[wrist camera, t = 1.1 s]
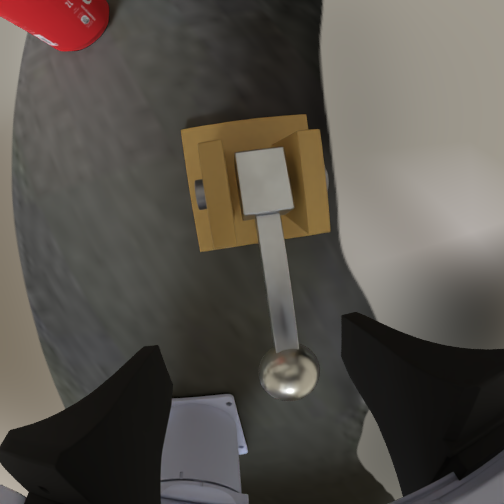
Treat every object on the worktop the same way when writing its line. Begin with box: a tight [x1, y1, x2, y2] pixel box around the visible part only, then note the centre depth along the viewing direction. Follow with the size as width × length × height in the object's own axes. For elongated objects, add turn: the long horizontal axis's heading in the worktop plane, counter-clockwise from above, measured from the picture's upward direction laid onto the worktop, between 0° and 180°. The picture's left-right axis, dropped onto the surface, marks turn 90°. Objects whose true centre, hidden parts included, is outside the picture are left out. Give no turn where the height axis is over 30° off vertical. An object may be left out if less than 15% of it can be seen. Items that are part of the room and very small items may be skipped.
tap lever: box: [234, 147, 320, 401], centre depth 13 cm, size 12×3×3 cm, turn 8°
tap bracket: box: [181, 114, 330, 252], centre depth 15 cm, size 8×8×8 cm
